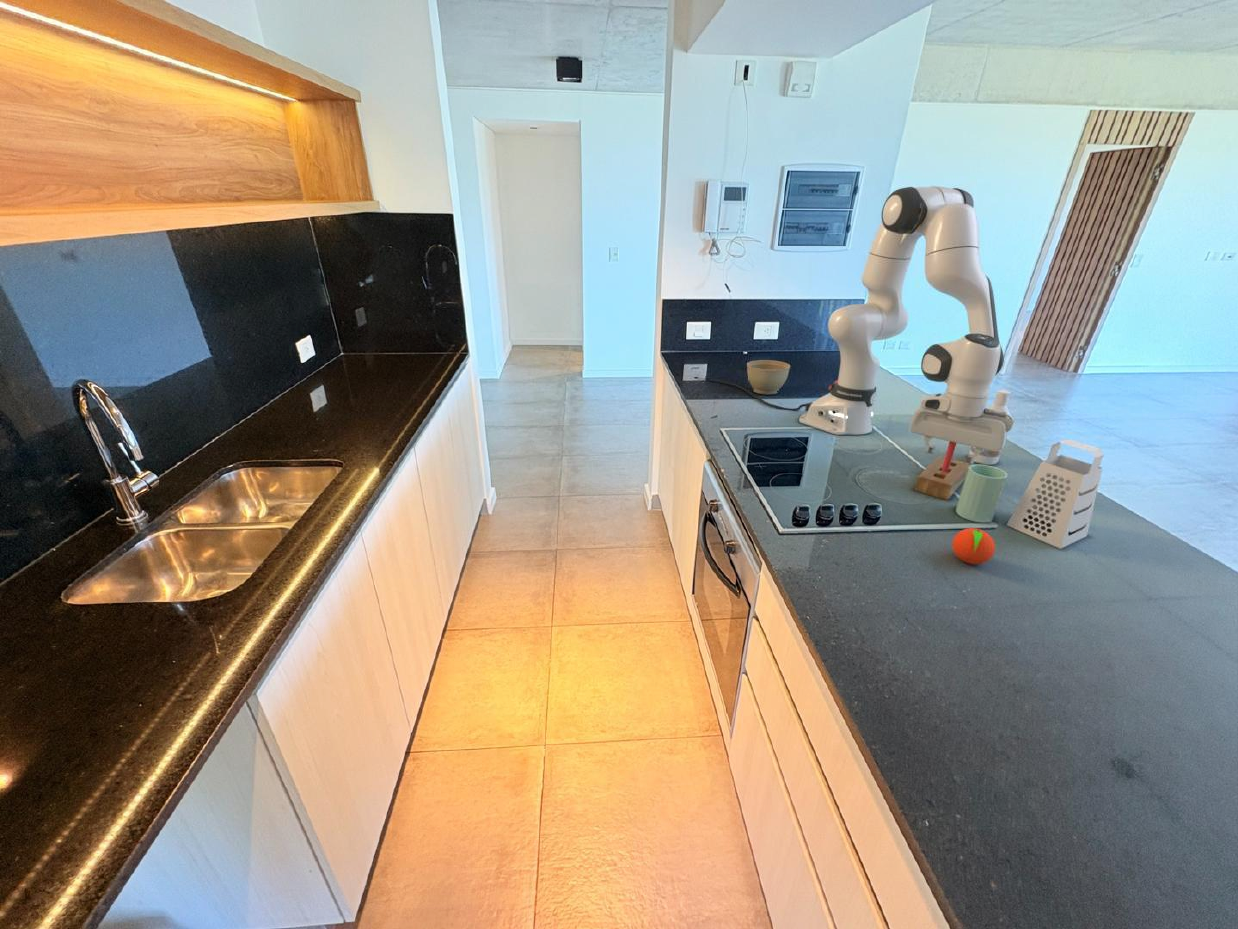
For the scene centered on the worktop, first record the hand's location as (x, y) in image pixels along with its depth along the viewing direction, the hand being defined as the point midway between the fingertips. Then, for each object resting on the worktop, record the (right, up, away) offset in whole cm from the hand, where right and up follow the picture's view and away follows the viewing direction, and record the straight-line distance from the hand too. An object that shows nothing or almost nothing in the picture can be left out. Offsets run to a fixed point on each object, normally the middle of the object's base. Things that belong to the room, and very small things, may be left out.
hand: (949, 457), depth 132 cm
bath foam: (+19, -1, +16) cm, 25 cm away
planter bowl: (-25, +27, +77) cm, 85 cm away
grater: (+10, -16, -17) cm, 26 cm away
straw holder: (0, -7, +3) cm, 7 cm away
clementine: (-14, -21, -28) cm, 37 cm away
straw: (0, -7, +3) cm, 7 cm away
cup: (-1, -13, -11) cm, 17 cm away
